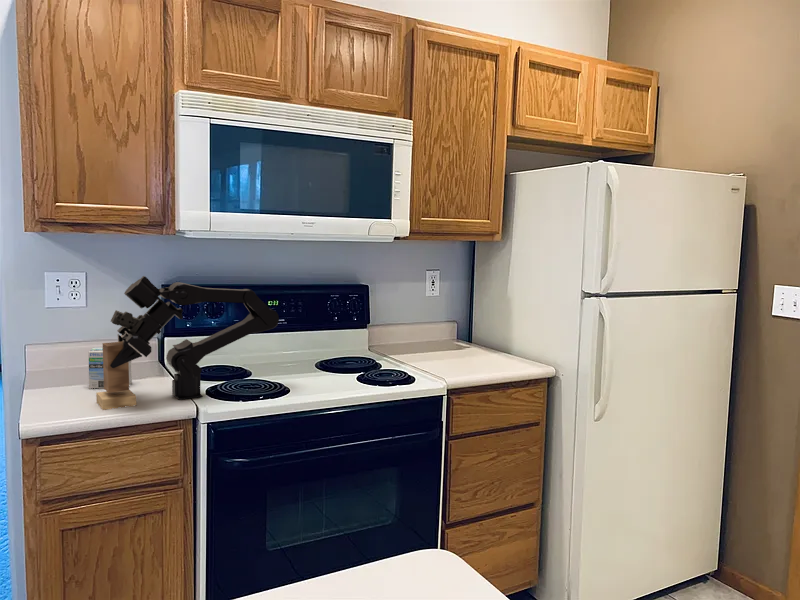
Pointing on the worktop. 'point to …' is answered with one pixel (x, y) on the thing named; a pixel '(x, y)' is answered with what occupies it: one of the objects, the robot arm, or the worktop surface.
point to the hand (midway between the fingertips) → (109, 364)
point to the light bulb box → (99, 369)
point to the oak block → (115, 399)
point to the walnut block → (114, 369)
